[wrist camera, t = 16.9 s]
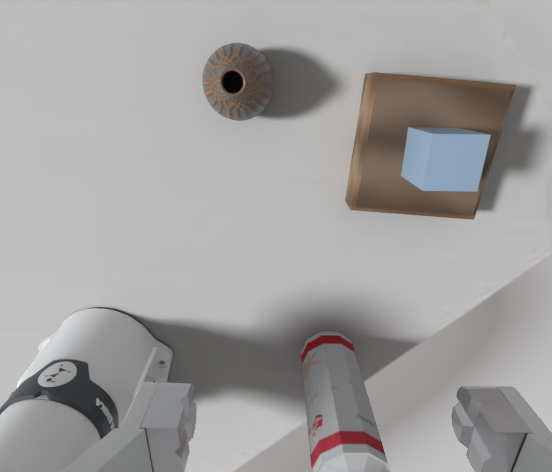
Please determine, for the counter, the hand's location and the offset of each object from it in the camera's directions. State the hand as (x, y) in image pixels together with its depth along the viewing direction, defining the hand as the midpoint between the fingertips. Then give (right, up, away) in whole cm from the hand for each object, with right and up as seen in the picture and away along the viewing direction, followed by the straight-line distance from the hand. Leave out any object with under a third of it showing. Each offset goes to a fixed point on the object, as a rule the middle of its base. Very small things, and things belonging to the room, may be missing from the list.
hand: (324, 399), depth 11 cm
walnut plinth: (+14, +15, +29) cm, 36 cm away
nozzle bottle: (+6, -12, +41) cm, 43 cm away
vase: (-5, +21, +27) cm, 35 cm away
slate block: (+14, +14, +26) cm, 32 cm away
